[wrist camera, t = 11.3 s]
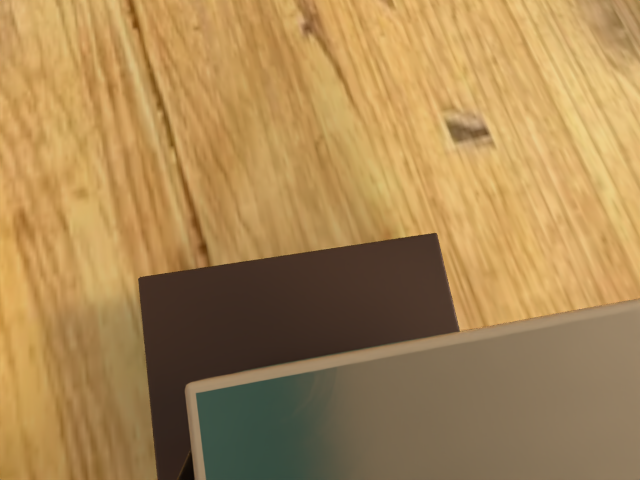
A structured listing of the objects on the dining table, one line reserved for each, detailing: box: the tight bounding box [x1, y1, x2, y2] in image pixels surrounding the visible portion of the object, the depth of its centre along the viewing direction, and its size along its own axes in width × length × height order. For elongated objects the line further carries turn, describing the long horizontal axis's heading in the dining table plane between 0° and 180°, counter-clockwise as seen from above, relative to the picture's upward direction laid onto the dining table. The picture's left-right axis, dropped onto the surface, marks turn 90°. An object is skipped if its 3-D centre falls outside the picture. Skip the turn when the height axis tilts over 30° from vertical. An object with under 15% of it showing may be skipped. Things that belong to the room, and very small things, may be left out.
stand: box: [138, 233, 460, 480], centre depth 20 cm, size 12×12×4 cm
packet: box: [185, 299, 640, 480], centre depth 10 cm, size 4×5×12 cm
